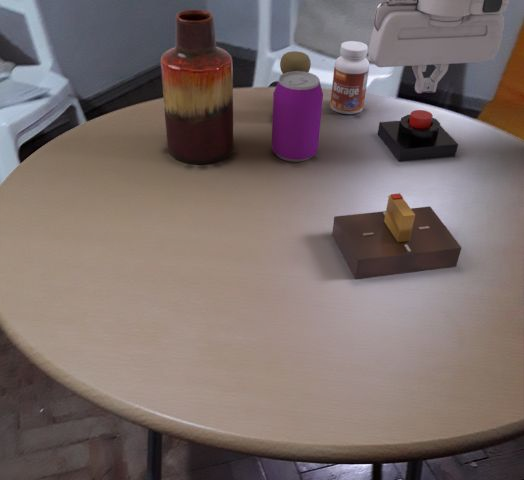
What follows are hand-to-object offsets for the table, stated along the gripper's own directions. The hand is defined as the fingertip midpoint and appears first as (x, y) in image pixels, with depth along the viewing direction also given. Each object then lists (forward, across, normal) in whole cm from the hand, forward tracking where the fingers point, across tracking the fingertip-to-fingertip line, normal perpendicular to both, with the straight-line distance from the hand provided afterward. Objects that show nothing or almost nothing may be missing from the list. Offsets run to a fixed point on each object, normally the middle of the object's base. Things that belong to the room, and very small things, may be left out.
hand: (424, 91), depth 100 cm
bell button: (+6, 0, 0) cm, 6 cm away
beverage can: (+10, -20, +1) cm, 23 cm away
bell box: (+9, 0, 0) cm, 9 cm away
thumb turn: (+7, -15, -28) cm, 32 cm away
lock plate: (+10, -15, -28) cm, 33 cm away
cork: (+10, -17, +14) cm, 24 cm away
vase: (+10, -35, +5) cm, 37 cm away
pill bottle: (+10, -6, +16) cm, 20 cm away
